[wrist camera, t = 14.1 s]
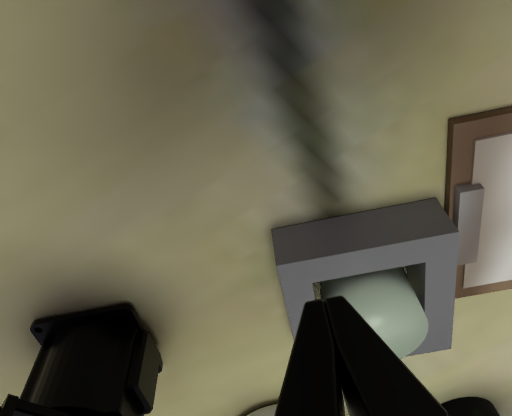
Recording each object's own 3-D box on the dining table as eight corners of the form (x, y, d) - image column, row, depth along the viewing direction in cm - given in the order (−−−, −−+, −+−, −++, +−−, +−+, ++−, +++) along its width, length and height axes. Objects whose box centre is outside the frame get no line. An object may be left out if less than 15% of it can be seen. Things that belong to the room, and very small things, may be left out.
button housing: (295, 334, 30) (301, 373, 27) (271, 229, 25) (276, 265, 22) (432, 310, 29) (451, 348, 27) (435, 197, 24) (459, 231, 22)
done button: (325, 322, 28) (336, 372, 25) (315, 262, 25) (326, 310, 22) (406, 308, 27) (427, 356, 24) (405, 246, 25) (429, 292, 22)
